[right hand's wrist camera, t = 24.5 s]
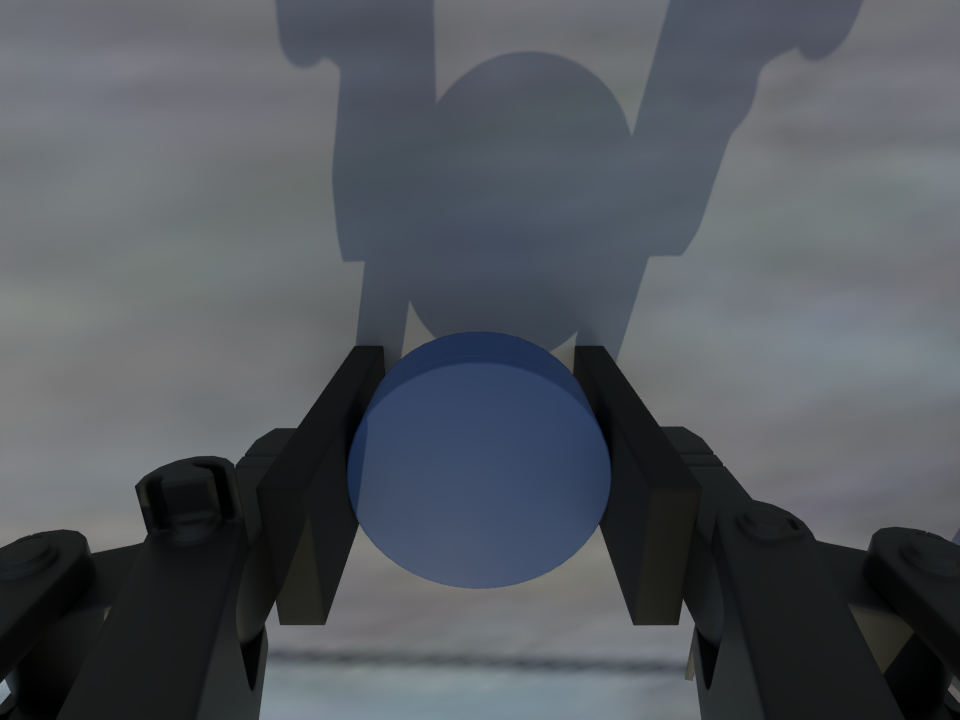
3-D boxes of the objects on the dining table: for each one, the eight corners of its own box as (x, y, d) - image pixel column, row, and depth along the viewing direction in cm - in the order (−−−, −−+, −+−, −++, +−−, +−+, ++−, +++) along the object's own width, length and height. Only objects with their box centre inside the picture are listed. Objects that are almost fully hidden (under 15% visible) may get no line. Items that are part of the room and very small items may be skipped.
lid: (509, 563, 13) (513, 624, 11) (326, 466, 12) (300, 517, 10) (639, 408, 12) (668, 452, 10) (441, 283, 11) (433, 307, 9)
